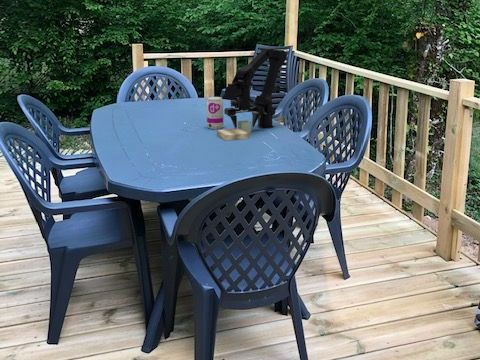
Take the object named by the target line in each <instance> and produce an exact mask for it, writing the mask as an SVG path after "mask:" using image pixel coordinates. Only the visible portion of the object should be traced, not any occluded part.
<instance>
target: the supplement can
mask: <svg viewBox="0 0 480 360" xmlns="http://www.w3.org/2000/svg"><path fill="white" fill-rule="evenodd" d="M206 127H207V128H208V129H210V130H222V129H223V128H224V100H223V98H222V97H221V96H210V97H207V100H206Z"/></svg>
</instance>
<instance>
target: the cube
mask: <svg viewBox="0 0 480 360" xmlns="http://www.w3.org/2000/svg"><path fill="white" fill-rule="evenodd" d="M237 128H241V129H243V130H245V131H247V132H249V133H251V132H252V121H249V120H247V119H246V120H237Z"/></svg>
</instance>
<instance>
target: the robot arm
mask: <svg viewBox="0 0 480 360" xmlns="http://www.w3.org/2000/svg"><path fill="white" fill-rule="evenodd" d="M287 56H288V55H287V52H286V51H285V49H276V48H275V49H272V48H269V47H268V48H267V47H263V48H262V49H261V50H260V52H259V53H258V54H257V55H256V56H255V57H254V58H252V60H251V61H250V62H249V63H248V64H246V65H243V66H242V67H240V68H238V69H237V70H236V72H235V76H234V77H233V80H232V81H231V83H228V84H227V86H226V87H225V89H224V95H225V97H226V98H227V99H229V100H230V99H231V100H230V107H226V108H225V109H223V115H224V114H225V115H226V116H227V117H229V118H230V120H231V121H232V125H233V127H234V128H233V129H235V128H238V117H237V115H236V114H241V113H251V116H252V119H251V128H254V127H255V125H256V124H257V127H259V128H261V129H265V128H274V127H275V126H274V125H273V116H275V115H276V111H277V110H276V109H275V108H274V106H273V98H272V94H273V91H274V89H275V88H274V87H275V84H276V81H277V77H278V75H279V71H280V69H281V68H282V66H283V65H284V64H285V63H286V59H287ZM267 60H268V65H269V67H268V71H267V74H266V78H265V80H264V81H265V82H264V84H263V88H262V89H261V90H262V91H261V94H259V95H256V96H255V101H254V102H253V103H254V105H252V107H251V101H252V98H251V87H253V86H254V84H253V82H252V80H253V79H254V78H255V75H256V72H257V71H258V69H259V68H260V67H261V66H262V65H263V64H265V63H266V61H267ZM235 98H237V100H236V99H235Z"/></svg>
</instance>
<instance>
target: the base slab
mask: <svg viewBox="0 0 480 360" xmlns="http://www.w3.org/2000/svg"><path fill="white" fill-rule="evenodd" d="M216 136H217V137H219V138H220V139H222V140H223V141H225V142H228V141H229V140H230V141H240V140H247V139H249V138H251V132H247V131H245V130H243V129H241V128H238V127H237V128H226V129H216Z"/></svg>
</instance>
